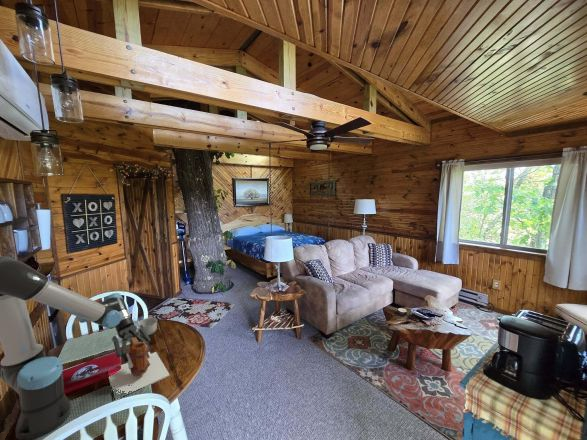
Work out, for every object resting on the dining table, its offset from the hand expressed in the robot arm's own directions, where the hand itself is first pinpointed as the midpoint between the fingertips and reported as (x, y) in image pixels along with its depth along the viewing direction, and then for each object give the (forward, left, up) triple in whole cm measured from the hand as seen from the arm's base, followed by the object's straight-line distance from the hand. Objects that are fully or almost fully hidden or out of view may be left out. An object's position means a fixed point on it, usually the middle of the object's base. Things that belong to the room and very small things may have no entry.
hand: (140, 362), depth 117 cm
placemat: (-1, +3, -7) cm, 8 cm away
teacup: (+10, +40, -8) cm, 42 cm away
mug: (-1, +3, -6) cm, 7 cm away
